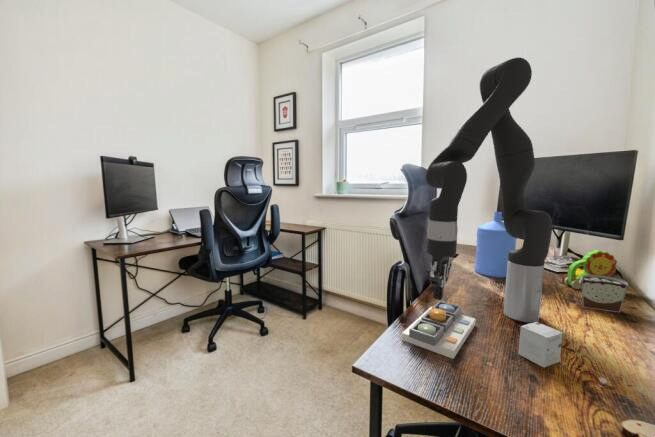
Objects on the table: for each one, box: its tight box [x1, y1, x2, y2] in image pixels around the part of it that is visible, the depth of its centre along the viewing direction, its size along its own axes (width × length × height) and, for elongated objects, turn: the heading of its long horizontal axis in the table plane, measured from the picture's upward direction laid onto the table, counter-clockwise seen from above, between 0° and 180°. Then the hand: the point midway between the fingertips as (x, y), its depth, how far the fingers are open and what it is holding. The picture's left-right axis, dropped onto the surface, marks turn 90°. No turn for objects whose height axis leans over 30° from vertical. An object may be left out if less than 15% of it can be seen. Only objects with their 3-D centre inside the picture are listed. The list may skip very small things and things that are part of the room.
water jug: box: [474, 211, 518, 279], centre depth 131 cm, size 16×16×28 cm
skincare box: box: [517, 321, 564, 369], centre depth 69 cm, size 6×6×7 cm
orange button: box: [429, 309, 446, 323], centre depth 81 cm, size 4×4×2 cm
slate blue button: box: [439, 304, 455, 313], centre depth 87 cm, size 4×4×2 cm
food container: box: [579, 275, 630, 313], centre depth 97 cm, size 12×6×10 cm, turn 65°
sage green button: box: [418, 324, 436, 336], centre depth 75 cm, size 4×4×2 cm
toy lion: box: [564, 249, 618, 290], centre depth 113 cm, size 16×6×15 cm, turn 84°
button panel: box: [401, 300, 476, 360], centre depth 80 cm, size 13×23×4 cm, turn 140°
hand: (438, 298), depth 80 cm, fingers closed
